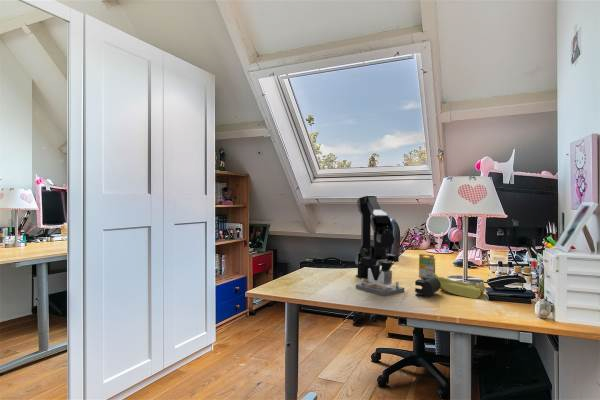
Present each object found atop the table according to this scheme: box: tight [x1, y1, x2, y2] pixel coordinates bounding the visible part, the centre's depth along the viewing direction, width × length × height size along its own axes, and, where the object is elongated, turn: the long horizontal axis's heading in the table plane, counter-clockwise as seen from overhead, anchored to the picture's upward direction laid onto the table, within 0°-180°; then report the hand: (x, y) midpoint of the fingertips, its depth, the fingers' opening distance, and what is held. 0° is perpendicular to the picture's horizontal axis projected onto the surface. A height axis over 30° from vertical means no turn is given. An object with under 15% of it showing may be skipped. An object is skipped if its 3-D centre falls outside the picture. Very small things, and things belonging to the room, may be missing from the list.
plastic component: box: [433, 272, 486, 299], centre depth 155 cm, size 20×7×10 cm
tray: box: [355, 278, 405, 297], centre depth 158 cm, size 13×16×4 cm
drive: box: [367, 268, 393, 285], centre depth 158 cm, size 5×9×6 cm, turn 37°
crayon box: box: [418, 253, 436, 278], centre depth 184 cm, size 7×3×12 cm, turn 57°
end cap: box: [414, 277, 441, 298], centre depth 150 cm, size 10×7×7 cm
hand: (379, 279), depth 158 cm, fingers closed on drive, 5 cm apart
